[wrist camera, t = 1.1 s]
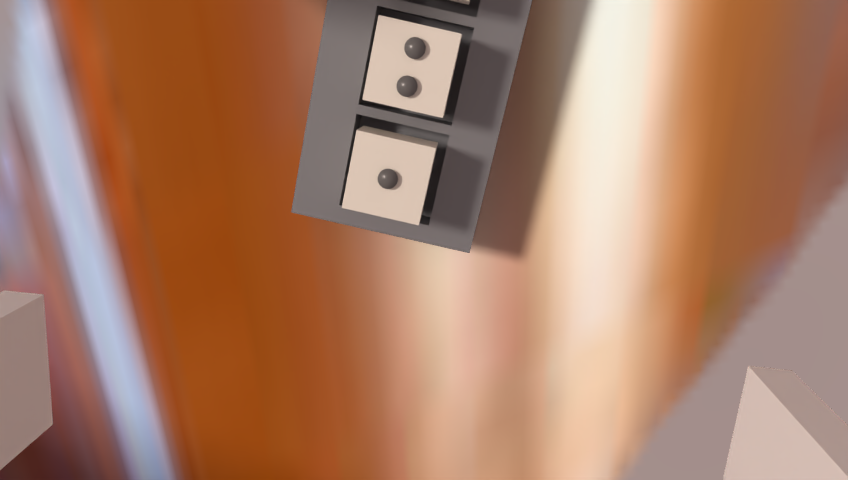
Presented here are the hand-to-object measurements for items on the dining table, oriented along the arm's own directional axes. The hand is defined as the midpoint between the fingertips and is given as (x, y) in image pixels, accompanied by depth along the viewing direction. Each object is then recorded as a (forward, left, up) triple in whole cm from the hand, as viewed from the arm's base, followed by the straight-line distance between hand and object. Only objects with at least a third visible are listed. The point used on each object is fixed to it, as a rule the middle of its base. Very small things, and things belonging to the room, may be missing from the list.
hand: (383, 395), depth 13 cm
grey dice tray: (-2, +5, -27) cm, 28 cm away
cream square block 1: (-2, 0, -24) cm, 24 cm away
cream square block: (-2, +5, -24) cm, 25 cm away
